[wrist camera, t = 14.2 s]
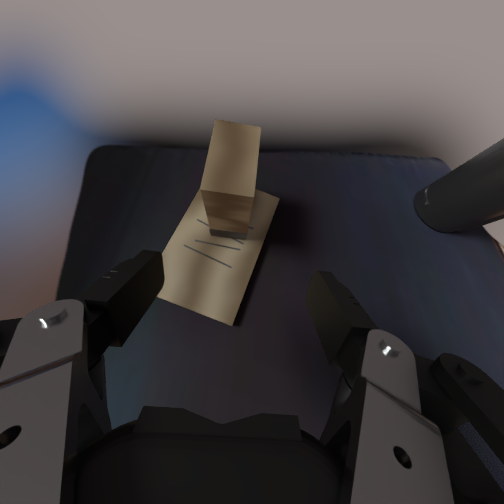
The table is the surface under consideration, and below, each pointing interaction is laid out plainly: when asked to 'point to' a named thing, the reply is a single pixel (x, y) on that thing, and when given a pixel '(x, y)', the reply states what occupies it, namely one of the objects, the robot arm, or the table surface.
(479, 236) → the table surface
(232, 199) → the block
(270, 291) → the table surface
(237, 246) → the board
